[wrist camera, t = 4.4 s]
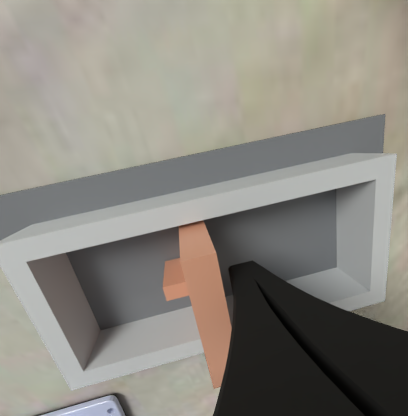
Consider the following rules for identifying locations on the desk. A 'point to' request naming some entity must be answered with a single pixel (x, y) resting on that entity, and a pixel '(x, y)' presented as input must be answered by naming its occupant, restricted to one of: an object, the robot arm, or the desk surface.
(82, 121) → the desk surface
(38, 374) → the desk surface
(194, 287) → the pusher
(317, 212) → the base
